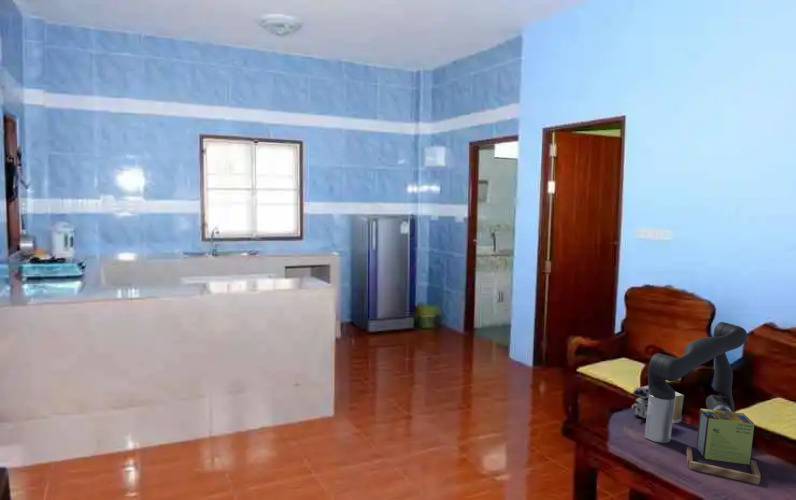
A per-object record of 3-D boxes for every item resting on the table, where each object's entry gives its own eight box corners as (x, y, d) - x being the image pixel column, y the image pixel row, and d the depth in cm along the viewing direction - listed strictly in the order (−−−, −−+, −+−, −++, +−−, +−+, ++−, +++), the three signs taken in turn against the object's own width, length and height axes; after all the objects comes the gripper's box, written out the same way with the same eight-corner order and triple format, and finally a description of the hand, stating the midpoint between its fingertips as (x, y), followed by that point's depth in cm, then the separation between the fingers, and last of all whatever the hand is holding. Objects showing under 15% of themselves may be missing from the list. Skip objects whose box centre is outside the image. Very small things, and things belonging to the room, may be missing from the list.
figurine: (624, 418, 245) (627, 384, 244) (643, 415, 250) (647, 382, 249) (641, 427, 237) (645, 391, 235) (661, 423, 242) (664, 389, 240)
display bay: (687, 468, 202) (688, 461, 201) (686, 453, 214) (687, 446, 214) (760, 485, 192) (761, 477, 192) (755, 467, 205) (755, 461, 205)
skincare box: (661, 418, 248) (664, 390, 247) (668, 417, 250) (671, 389, 249) (674, 423, 242) (677, 395, 241) (681, 422, 244) (684, 394, 243)
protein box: (750, 465, 207) (755, 423, 206) (703, 459, 210) (708, 418, 209) (739, 452, 217) (744, 412, 216) (695, 447, 220) (699, 407, 219)
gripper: (705, 404, 236) (708, 418, 221) (743, 411, 231) (748, 426, 215) (703, 422, 237) (706, 437, 221) (740, 429, 231) (746, 445, 216)
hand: (727, 432), depth 218 cm, fingers closed
